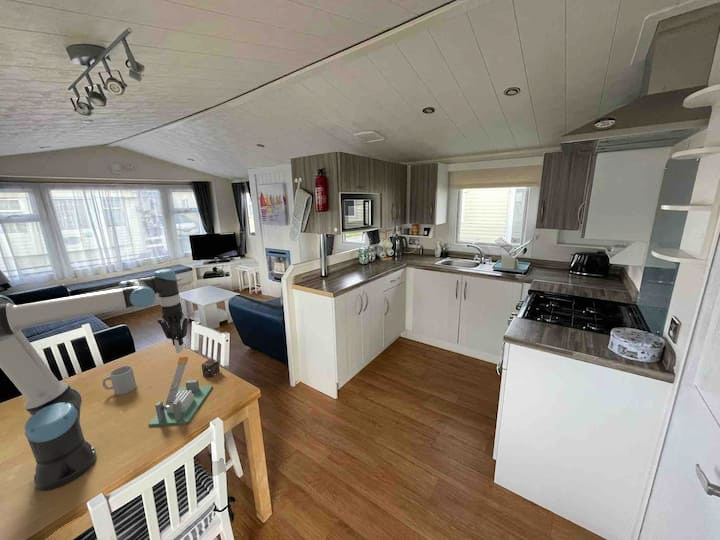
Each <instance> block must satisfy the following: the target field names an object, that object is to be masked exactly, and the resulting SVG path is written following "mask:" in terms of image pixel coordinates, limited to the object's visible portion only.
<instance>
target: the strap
mask: <svg viewBox="0 0 720 540" xmlns="http://www.w3.org/2000/svg"><path fill="white" fill-rule="evenodd" d="M188 360H189V357H188V356H183V357H180V356H179V357H178V361H177V363H176V364H177V366H176V369H175V373H174V376H173V380H172V382H171V386H170V389H169V391H168V396H167V398H166V400H165V404H166V406H164V405H163V406H162V407H161V410H172V409H173V405H172V404H173V403H174V401H175V398H176V395H177V391H178V389H179V388H180V383H181V380H182V378H183V374H184V372H185V368H186V365H187V364H188Z"/></svg>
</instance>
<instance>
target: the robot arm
mask: <svg viewBox="0 0 720 540" xmlns="http://www.w3.org/2000/svg"><path fill="white" fill-rule="evenodd" d="M118 287H119V288H115V289H109V290H103V291H97V292H91V293H85V294H78V295H72V296H65V297H59V298H53V299H47V300H40V301H35V302H30V303H29V302H28V303H23V304H15V303H14V301H13V300H12V299H11V298H9V297H8V296H6V295H3V294H0V369H1V370H2V371H3V373H4V374H5V375H6V376H7V378H9V380H10V381H11V382H12V383H13V384H14V386H15V387H16V388H17V390H18V391H19V392H20V393H21V394H22V396H23V397H24V398H25V400H26V401H25V402H24V404H23V408H24V409H25V410H26V411H27V412H28V414H29V415H30V417H29V418H28V419H27V420H26V422H25V425H24V435H25V437H26V439H27V441H28V443H29V446H30V449H31V451H32V455H33V456H34V460H35V463H36V465H35V466H36V467H35V474H34V476H33V483H34V486H35V488H36V489H37V490H39V491H51V490H55V489H57V488H61V487H62V486H65V485H67V484H69V483H71V482H73V481H74V480H76V479H78V478H79V477H80V476H82V475H83V474H84V473H86V472H87V471H88V470H89V469H90V468H91V467H92V466H93V465H94V463H95V462H96V460H97V452H96V449H95V447H93V446H92V445H91V444H90V443H89V442H88V441H87V440H86V439H85V437H84V433H83V430H82V427H81V421H80V419H81V418H80V417H81V407H82V402H83V400H82V396H81V394H80V392H79V391H78V390H77V389H76V388H74V387H71V386H70V385H69V383H68V382H60V381H59V380H58V378H57V377H56V376H55V375H54V374H55V373H53V372H52V371H51V369H50V368H49V366H48V365H47V364H46V363H45V361H44V360H43V358H42V356H40V354H39V353H38V351H36V349H35V348H34V346H33V345H32V343H31V342H30V341H29V340H28V338H27V337H26V335H25V334H24V333H23V332H22V330H25V329H29V328H35V327H38V326H44V325H50V324H54V323H59V322H63V321H64V322H65V321H69V320H73V319H74V320H75V319H78V318H83V317H89V316H95V315H99V314H103V313H108V312H113V311H114V312H115V311H119V310H123V309H128V308H135V307H137V308H147V307H149V306H151V305H152V304H153V303H154V302H155V300H156V294H158V295H157V296H158V300H159V304H160V305H159V306H160V310H161V314H162V316H161V318H159V319H158V320H156V323H158V324H159V325H160V326H161V328H162V329H161V330H162V331H163V333H164V336H165V337H166V339H167V340H169V339H170V340H172V341H171V342H172V345H173V346H174V347H175V352H176V354H179V353H181V352H182V351H183V349H184V348H183V345H184V339H183V338H185V337H186V336H187V334H188V324H189V320H190V319H191V318H190V316H185V315H184V313H183V307H182V303H181V296H180V292H179V285H178V279H177V275H176V271H175V270H174V269H172V268H171V269H170V268H168V269H167V268H164V269H160V270H155V271H154V273H153V276H147V277H142V278H136V279H135V278H134V279H127V280H124V281H120V282H119V283H118ZM181 323H182V324H181Z"/></svg>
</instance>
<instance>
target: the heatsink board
mask: <svg viewBox="0 0 720 540" xmlns="http://www.w3.org/2000/svg"><path fill="white" fill-rule="evenodd" d="M184 384H185V386H182V387H181V386H179V388H178V391H177V395H176V398H175V401H174V403H173V404H172V405H173V409H172V410H161V407H162V406H166V403H165V404H163V403H164V402H163V401H161V400H160V401H158V402H156V403H155V405H154V406H155V412H156V414H155V416H154V417H153V418H152V419H151V421H150V422H149V423H147V425H148V427H156V426H157V427H159V426H172V425H173V426H175V425H186V424H187V425H188V424H189V423H190V422H191V420H192V419H193V417H194V416H195V414H196V413H197V411H198V410H199V408H200V406H201V405H202V404H203V402H204V401H205V399H206V398H207V397H208V395H209V394H210V392H211V391H210V390H212V389H213V388H212V387H214V386H213V385H200V384H199V379H189V380H186V381H185V383H184Z"/></svg>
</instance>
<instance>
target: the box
mask: <svg viewBox="0 0 720 540" xmlns="http://www.w3.org/2000/svg"><path fill="white" fill-rule="evenodd" d="M219 364H220V363H219V360H217V359H214V358H213V359H211V358H209V359H207V360H205V361H204V362H203V363H202V364H201V370H202V376H203V377H205V376H206V378H209V377H212V378H214V377H215V376H216V375H218V374H219V373H220V372H221V370H220V365H219ZM219 371H220V372H219ZM218 372H219V373H218ZM217 373H218V374H217ZM215 374H216V375H215ZM214 375H215V376H214ZM213 376H214V377H213Z"/></svg>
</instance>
